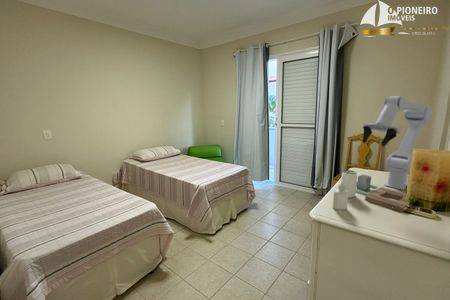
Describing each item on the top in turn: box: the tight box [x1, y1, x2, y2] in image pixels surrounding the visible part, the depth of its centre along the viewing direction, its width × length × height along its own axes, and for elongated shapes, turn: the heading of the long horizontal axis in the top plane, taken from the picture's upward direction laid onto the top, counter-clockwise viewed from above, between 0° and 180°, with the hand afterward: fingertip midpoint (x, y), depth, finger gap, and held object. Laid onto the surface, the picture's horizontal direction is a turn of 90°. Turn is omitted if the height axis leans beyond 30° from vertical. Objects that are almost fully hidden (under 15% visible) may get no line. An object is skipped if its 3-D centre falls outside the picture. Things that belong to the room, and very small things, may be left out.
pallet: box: [364, 186, 410, 213], centre depth 95 cm, size 18×14×2 cm
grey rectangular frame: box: [355, 183, 382, 196], centre depth 108 cm, size 14×11×1 cm
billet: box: [356, 174, 372, 192], centre depth 108 cm, size 5×4×7 cm
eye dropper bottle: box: [332, 181, 349, 211], centre depth 88 cm, size 4×6×12 cm
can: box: [340, 169, 358, 199], centre depth 101 cm, size 6×6×12 cm
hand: (372, 143), depth 94 cm, fingers open, 7 cm apart
